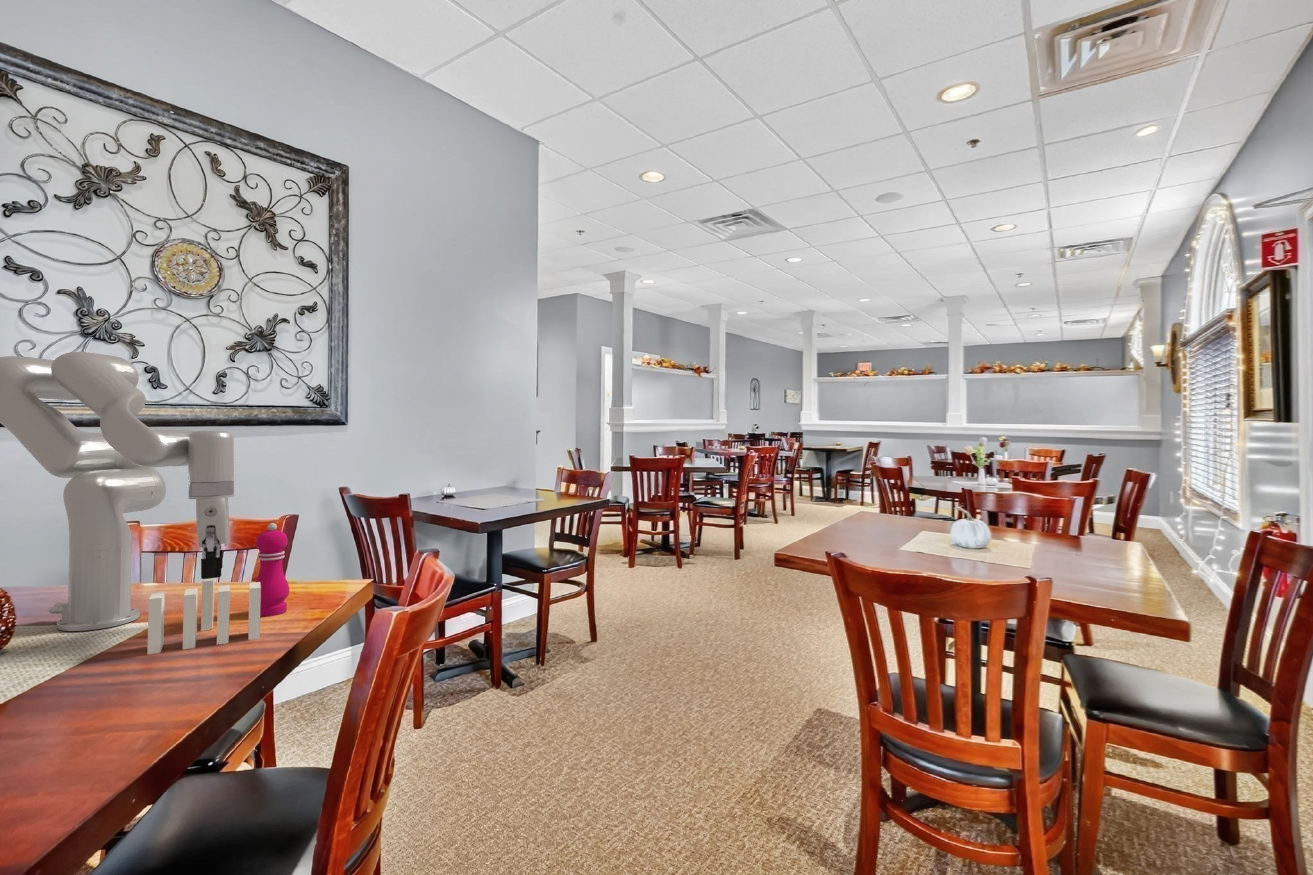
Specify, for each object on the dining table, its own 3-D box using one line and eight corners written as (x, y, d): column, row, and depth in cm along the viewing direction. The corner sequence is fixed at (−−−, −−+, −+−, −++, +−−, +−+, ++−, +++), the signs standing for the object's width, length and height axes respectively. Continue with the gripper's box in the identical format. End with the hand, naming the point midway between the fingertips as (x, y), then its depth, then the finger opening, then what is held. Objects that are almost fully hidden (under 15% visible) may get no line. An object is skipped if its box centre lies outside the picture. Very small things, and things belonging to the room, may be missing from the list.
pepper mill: (296, 608, 137) (298, 521, 137) (273, 618, 130) (275, 526, 130) (267, 607, 138) (269, 520, 138) (242, 616, 130) (244, 524, 130)
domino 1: (147, 654, 107) (148, 599, 107) (151, 645, 112) (152, 592, 112) (160, 652, 108) (161, 597, 108) (163, 644, 113) (164, 591, 113)
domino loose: (200, 631, 120) (202, 581, 120) (202, 624, 125) (203, 576, 125) (212, 629, 121) (213, 580, 121) (213, 622, 126) (214, 575, 126)
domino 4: (248, 640, 116) (249, 588, 116) (248, 632, 120) (249, 582, 120) (259, 638, 117) (260, 587, 117) (258, 631, 121) (260, 581, 121)
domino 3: (216, 644, 113) (218, 592, 113) (217, 636, 117) (218, 586, 117) (228, 643, 114) (229, 590, 114) (228, 635, 118) (230, 584, 118)
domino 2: (182, 649, 110) (183, 595, 110) (184, 641, 114) (185, 589, 114) (194, 647, 111) (196, 594, 111) (196, 639, 116) (197, 588, 116)
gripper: (233, 492, 118) (234, 578, 118) (234, 486, 132) (234, 564, 132) (185, 494, 114) (185, 584, 114) (191, 488, 128) (192, 568, 128)
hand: (212, 573), depth 123 cm, fingers open, 9 cm apart
